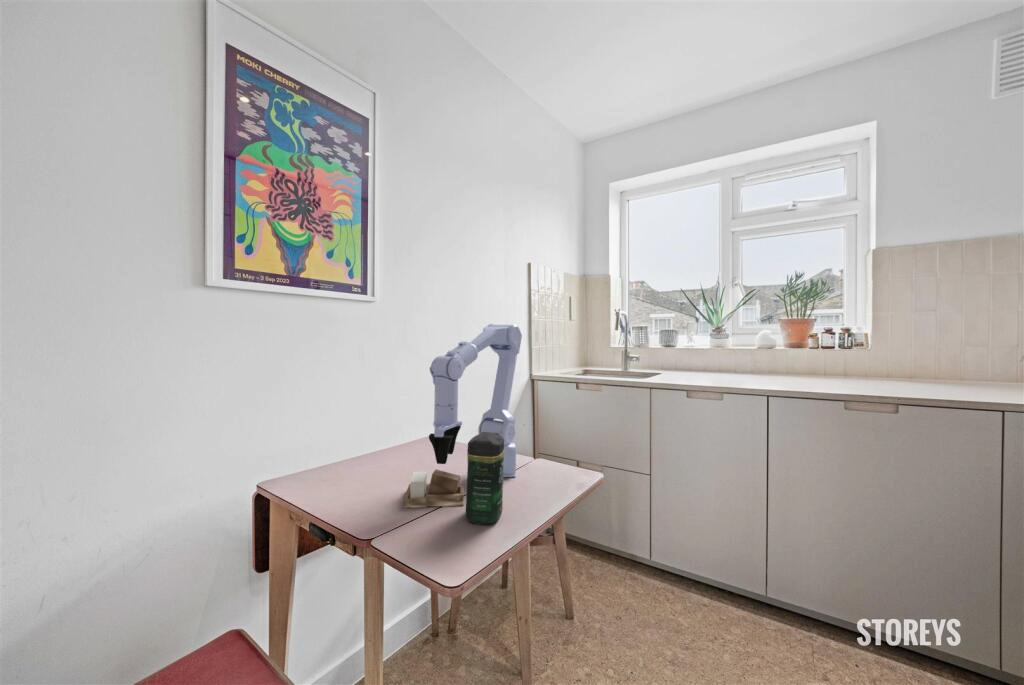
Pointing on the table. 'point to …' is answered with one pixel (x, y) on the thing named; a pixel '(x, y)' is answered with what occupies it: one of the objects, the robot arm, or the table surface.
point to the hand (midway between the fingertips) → (445, 458)
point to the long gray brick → (418, 485)
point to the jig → (435, 499)
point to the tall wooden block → (443, 483)
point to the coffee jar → (485, 478)
